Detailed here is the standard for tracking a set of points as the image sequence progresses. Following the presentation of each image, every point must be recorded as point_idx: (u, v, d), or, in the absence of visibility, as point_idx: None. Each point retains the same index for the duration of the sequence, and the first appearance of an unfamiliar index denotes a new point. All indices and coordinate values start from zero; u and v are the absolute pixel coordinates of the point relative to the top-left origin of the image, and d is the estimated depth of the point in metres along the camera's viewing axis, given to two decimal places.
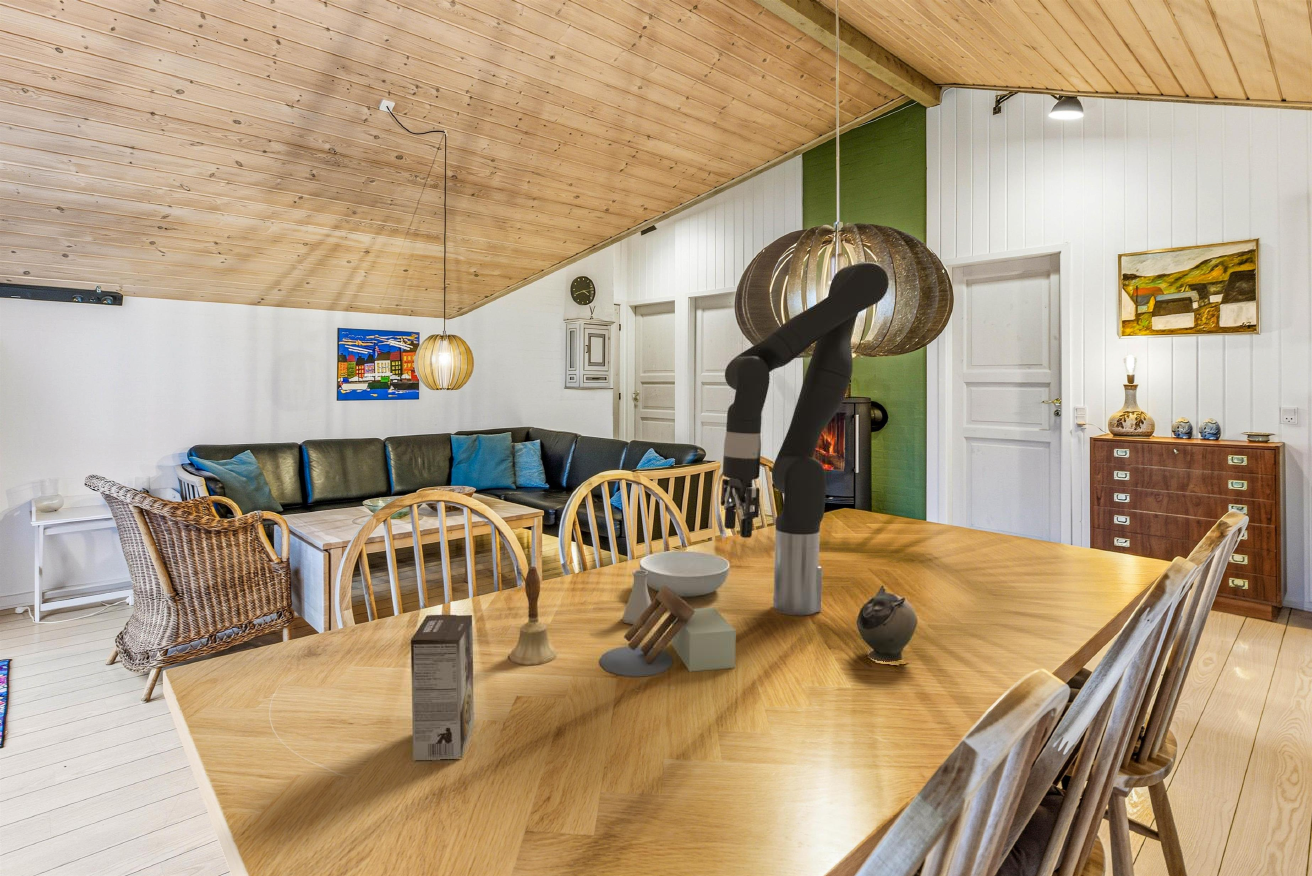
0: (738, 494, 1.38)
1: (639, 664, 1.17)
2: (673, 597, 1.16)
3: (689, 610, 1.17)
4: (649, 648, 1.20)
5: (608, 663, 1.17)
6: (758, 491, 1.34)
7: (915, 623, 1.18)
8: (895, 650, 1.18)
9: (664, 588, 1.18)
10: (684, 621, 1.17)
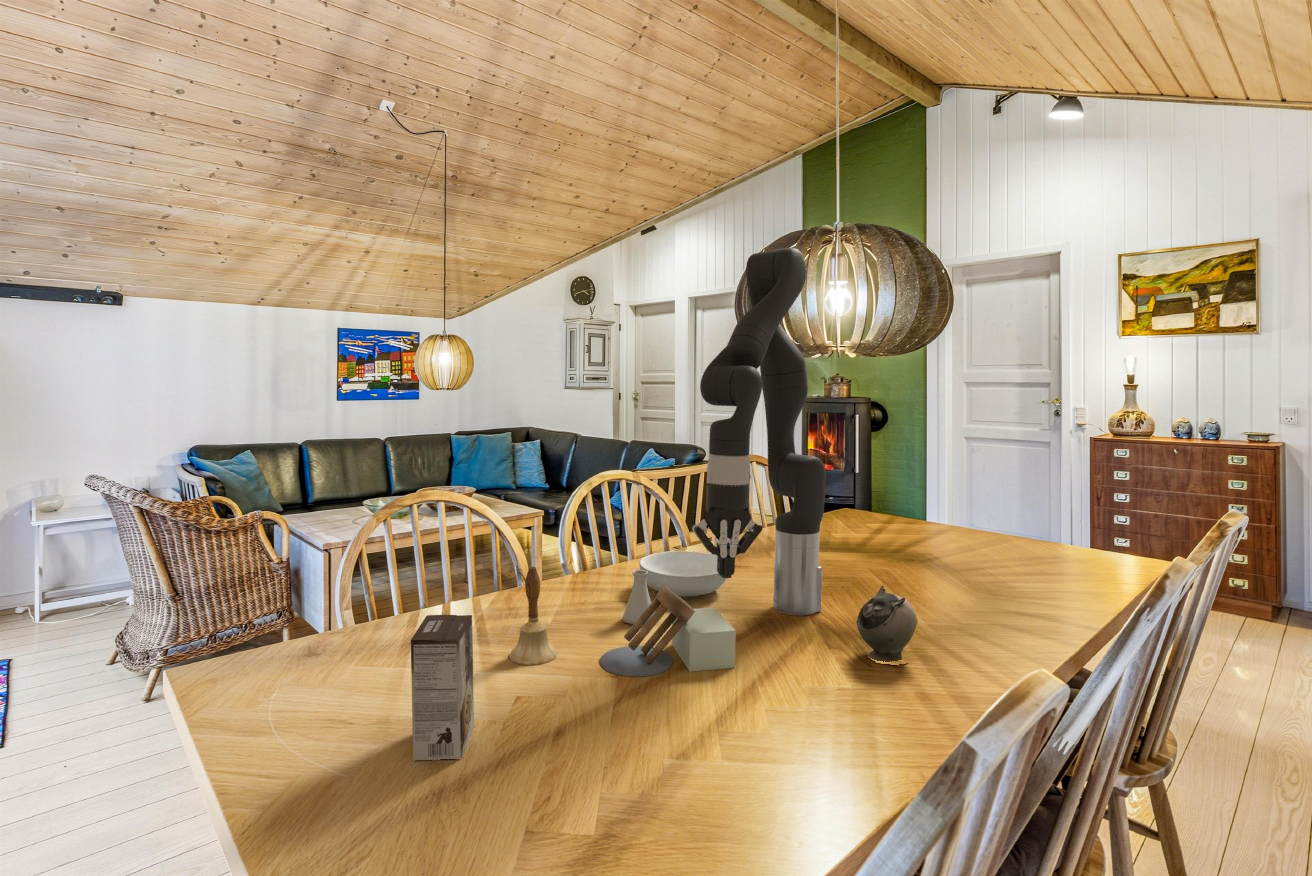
0: None
1: (639, 664, 1.17)
2: (673, 597, 1.16)
3: (689, 610, 1.17)
4: (649, 648, 1.20)
5: (608, 663, 1.17)
6: None
7: (915, 623, 1.18)
8: (895, 650, 1.18)
9: (664, 588, 1.18)
10: (684, 621, 1.17)
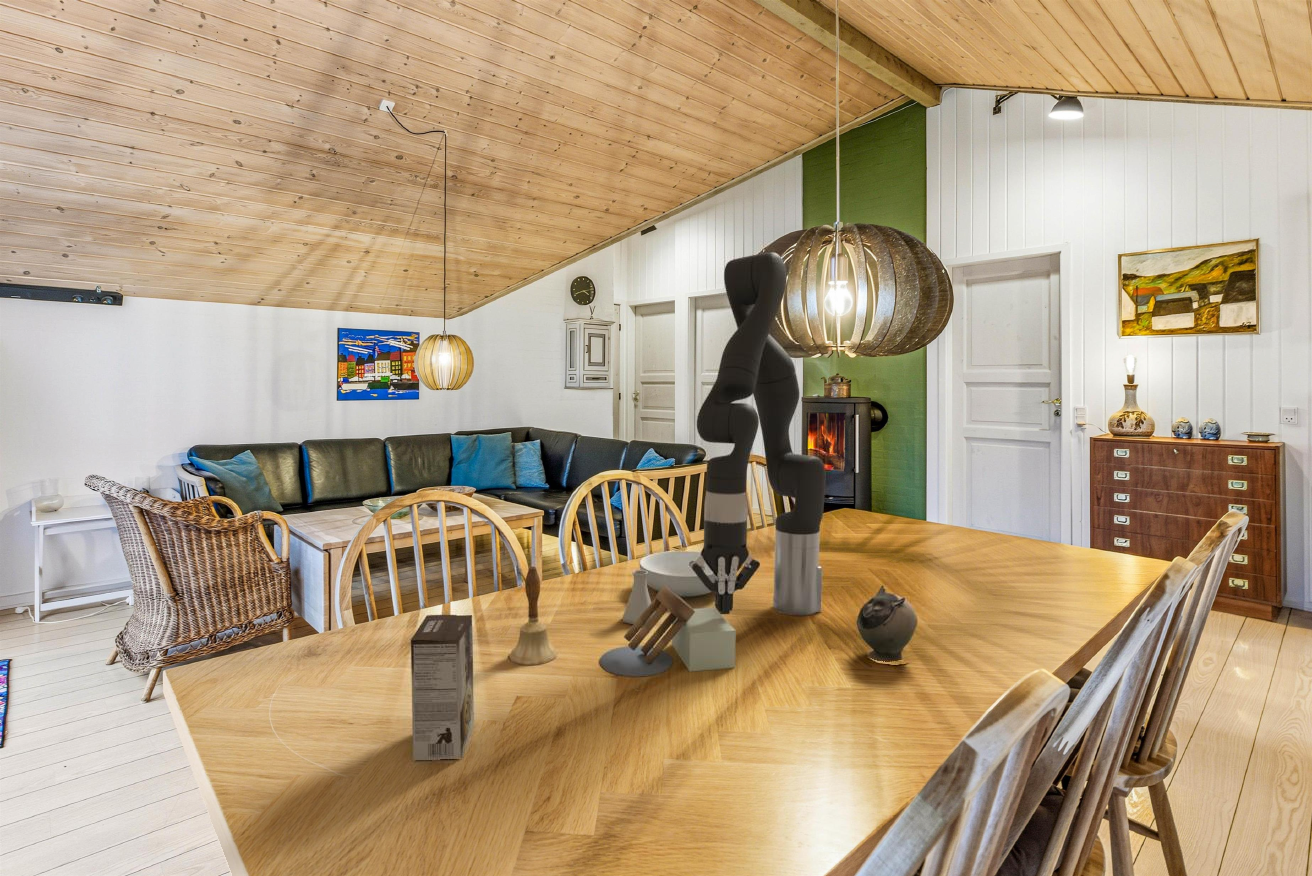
0: None
1: (639, 664, 1.17)
2: (673, 597, 1.16)
3: (689, 610, 1.17)
4: (649, 648, 1.20)
5: (608, 663, 1.17)
6: None
7: (915, 623, 1.18)
8: (895, 650, 1.18)
9: (664, 588, 1.18)
10: (684, 621, 1.17)
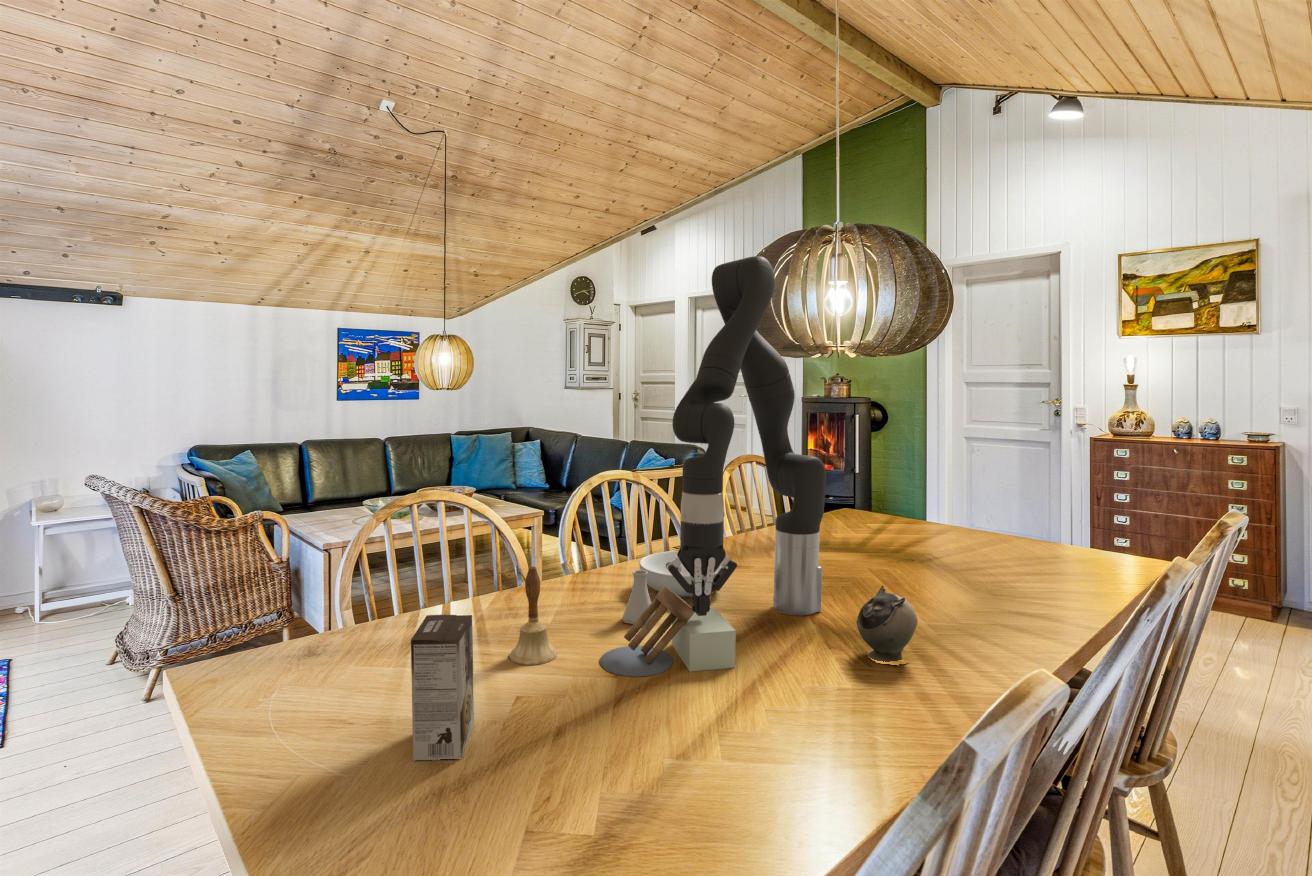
0: None
1: (639, 664, 1.17)
2: (673, 597, 1.16)
3: (689, 610, 1.17)
4: (649, 648, 1.20)
5: (608, 663, 1.17)
6: None
7: (915, 623, 1.18)
8: (895, 650, 1.18)
9: (664, 588, 1.18)
10: (684, 621, 1.17)
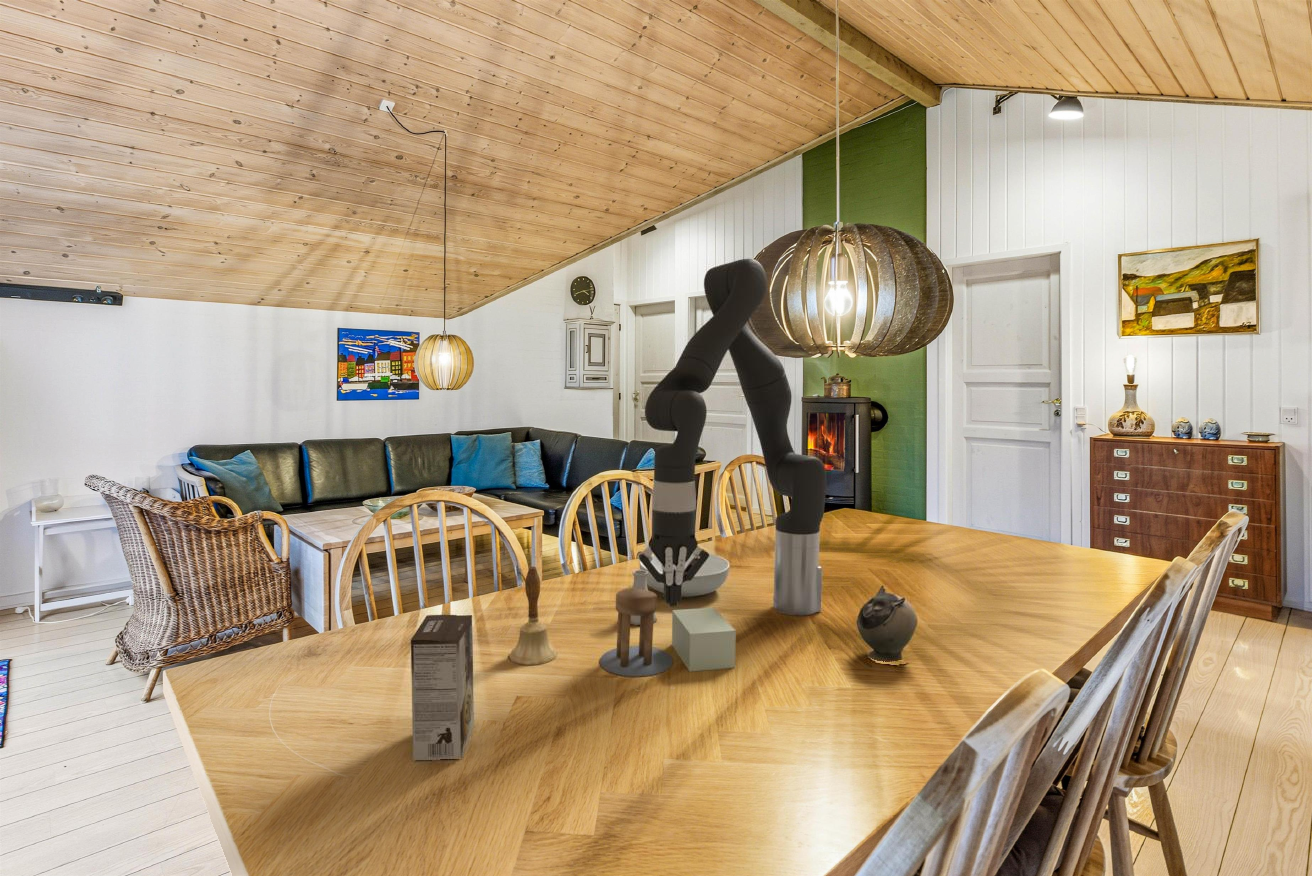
0: None
1: (639, 664, 1.17)
2: (627, 602, 1.15)
3: (648, 602, 1.15)
4: (644, 649, 1.20)
5: (608, 663, 1.17)
6: None
7: (915, 623, 1.18)
8: (895, 650, 1.18)
9: (616, 597, 1.17)
10: (651, 612, 1.16)
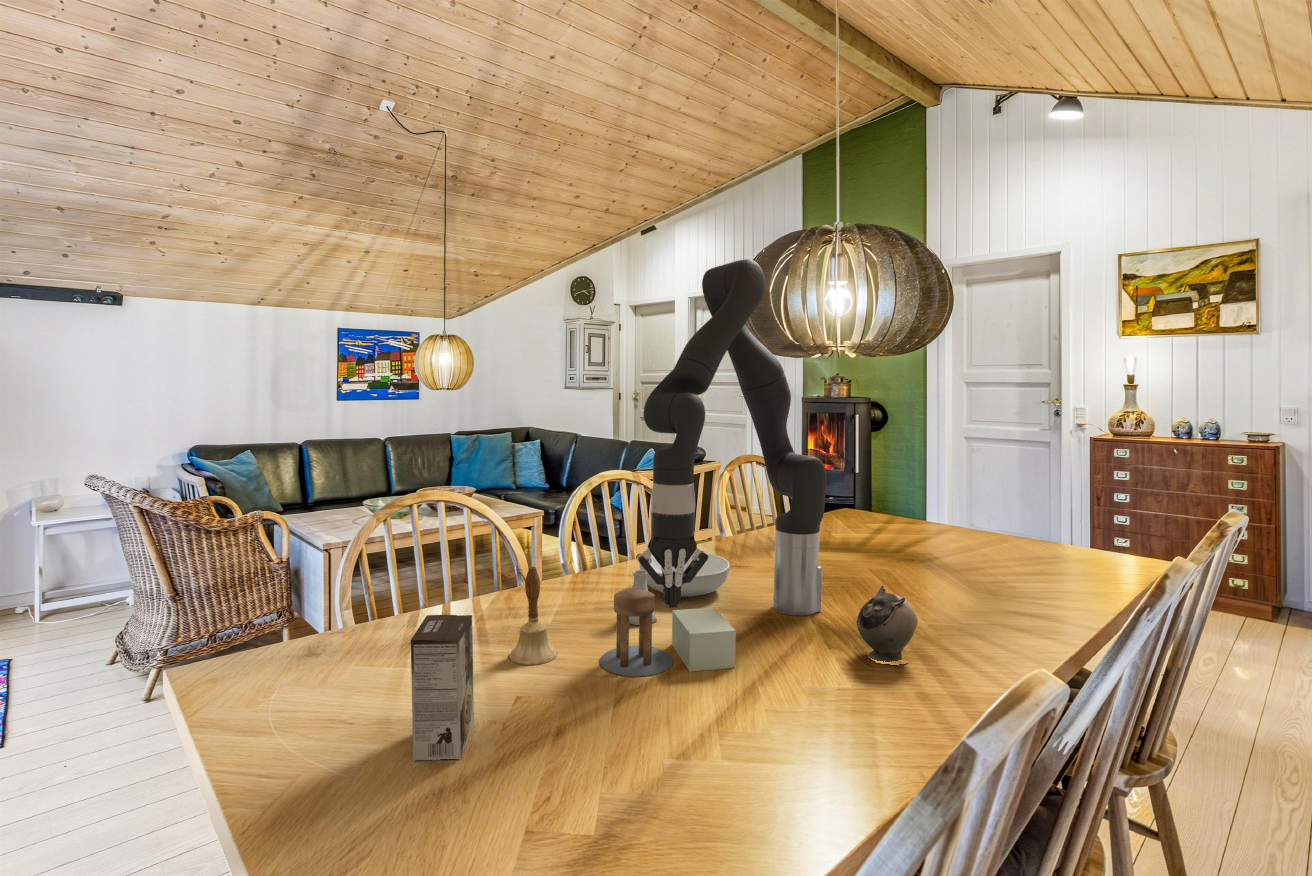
0: None
1: (639, 664, 1.17)
2: (624, 603, 1.14)
3: (646, 602, 1.15)
4: None
5: (608, 663, 1.17)
6: None
7: (915, 623, 1.18)
8: (895, 650, 1.18)
9: (614, 598, 1.17)
10: (650, 613, 1.16)
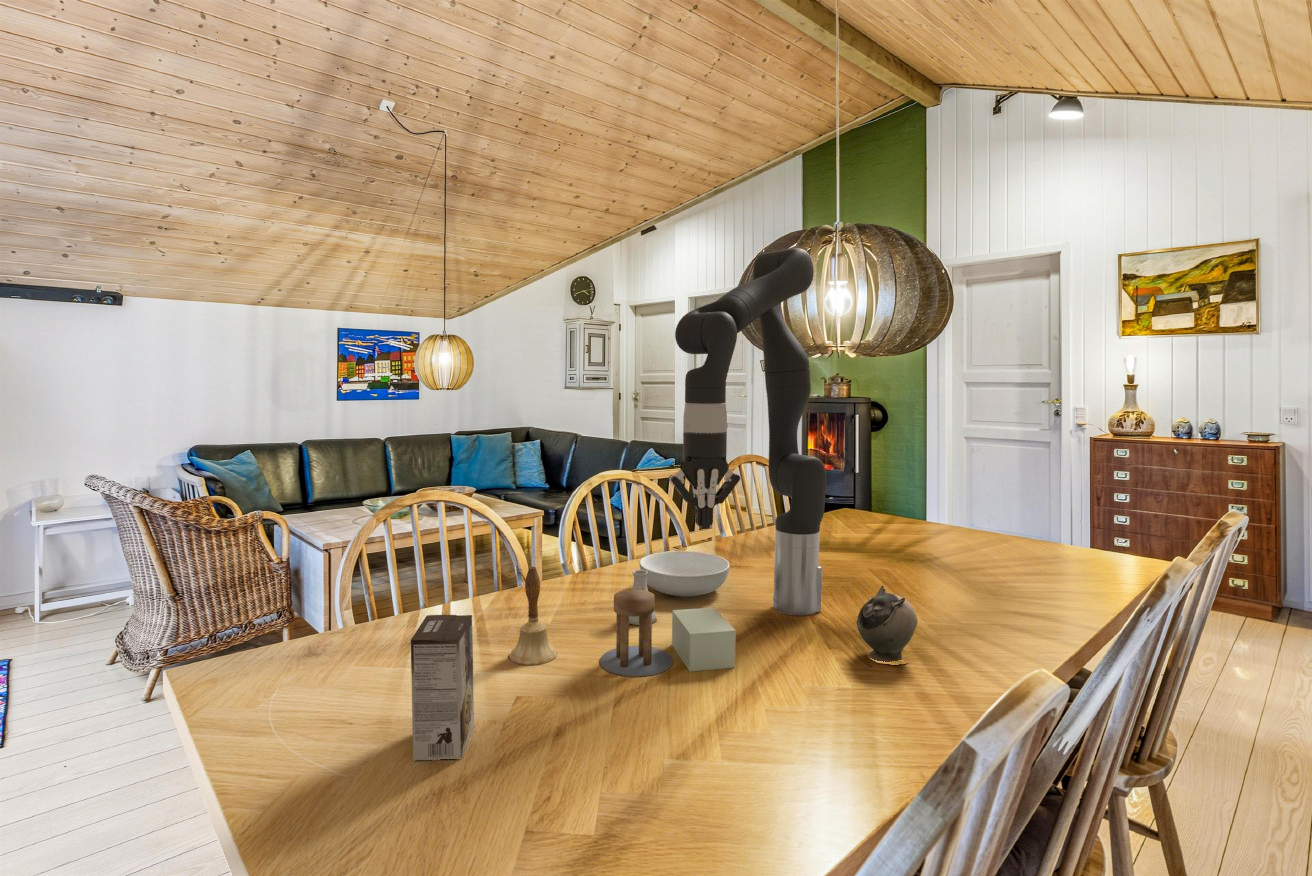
0: None
1: (639, 664, 1.17)
2: (624, 603, 1.14)
3: (646, 602, 1.15)
4: None
5: (608, 663, 1.17)
6: None
7: (915, 623, 1.18)
8: (895, 650, 1.18)
9: (614, 599, 1.17)
10: (649, 613, 1.16)
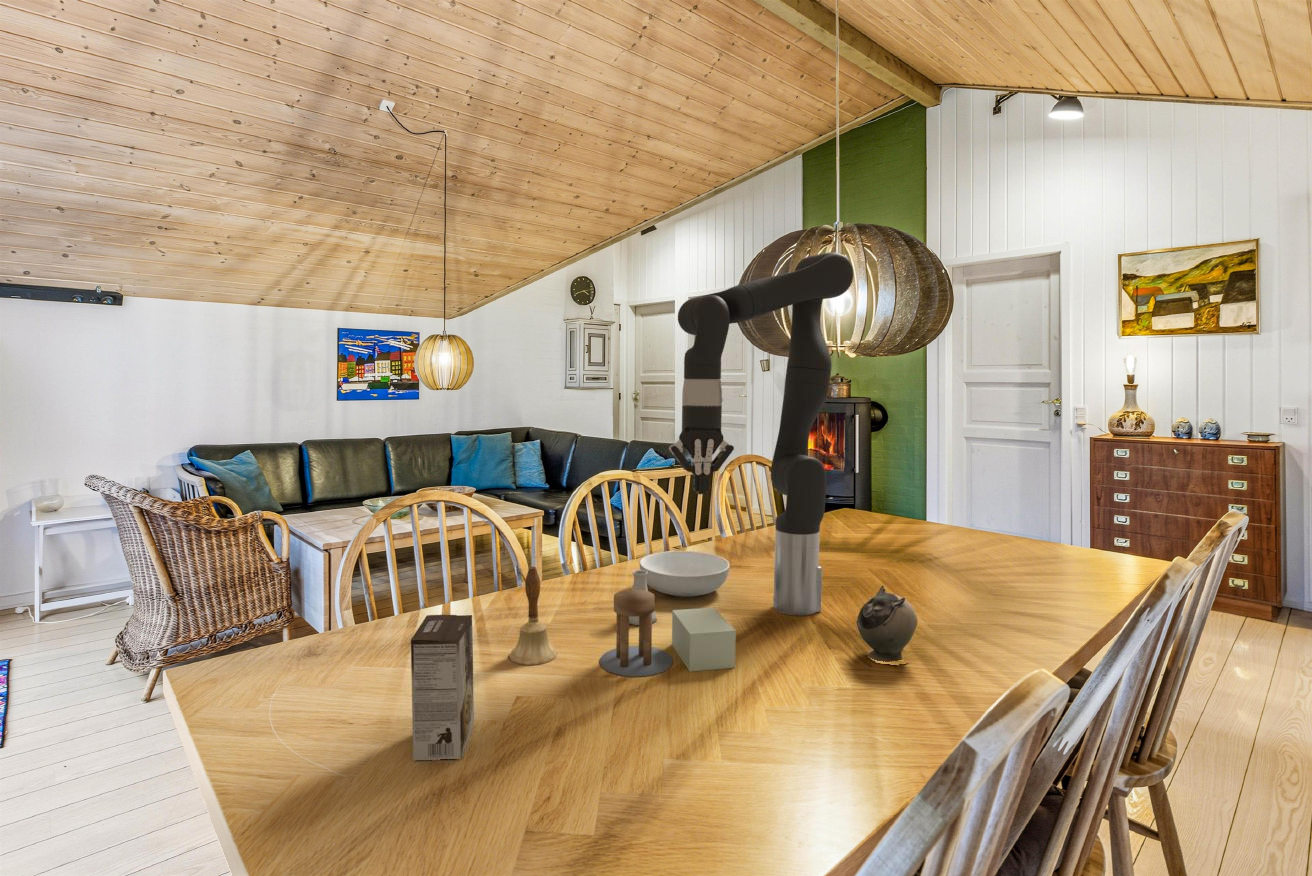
0: None
1: (639, 664, 1.17)
2: (624, 603, 1.14)
3: (646, 602, 1.15)
4: None
5: (608, 663, 1.17)
6: None
7: (915, 623, 1.18)
8: (895, 650, 1.18)
9: (614, 599, 1.17)
10: (649, 613, 1.16)
